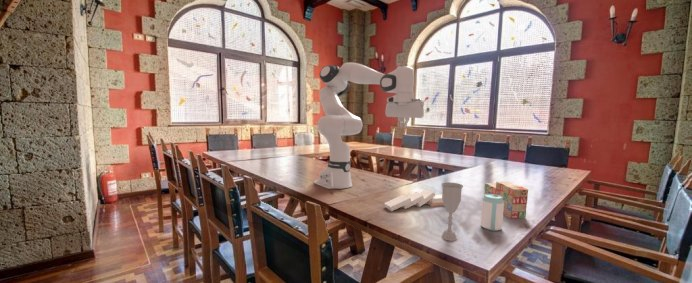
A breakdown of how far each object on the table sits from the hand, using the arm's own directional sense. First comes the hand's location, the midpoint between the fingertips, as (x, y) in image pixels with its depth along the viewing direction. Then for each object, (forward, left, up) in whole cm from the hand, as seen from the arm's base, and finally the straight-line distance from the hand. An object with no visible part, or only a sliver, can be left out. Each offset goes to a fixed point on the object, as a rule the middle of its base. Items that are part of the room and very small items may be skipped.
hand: (403, 126), depth 149 cm
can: (+48, -17, -34) cm, 61 cm away
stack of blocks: (+46, +9, -34) cm, 58 cm away
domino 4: (+19, -7, -32) cm, 38 cm away
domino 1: (+9, -27, -33) cm, 44 cm away
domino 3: (+16, -14, -33) cm, 39 cm away
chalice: (+40, -36, -34) cm, 64 cm away
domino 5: (+19, -8, -34) cm, 40 cm away
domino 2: (+12, -20, -33) cm, 41 cm away
